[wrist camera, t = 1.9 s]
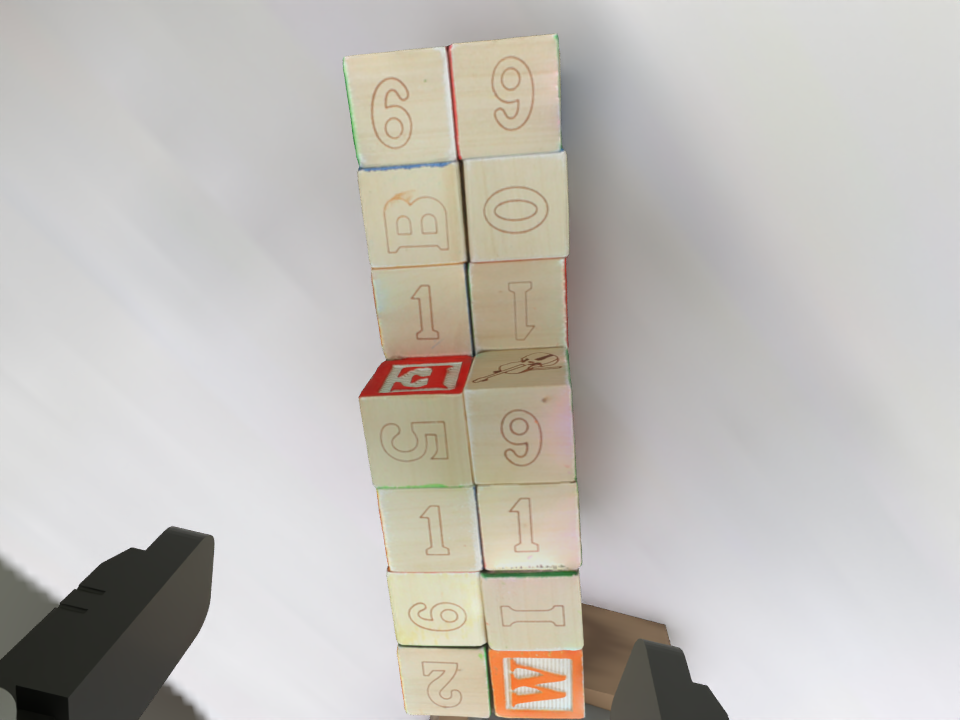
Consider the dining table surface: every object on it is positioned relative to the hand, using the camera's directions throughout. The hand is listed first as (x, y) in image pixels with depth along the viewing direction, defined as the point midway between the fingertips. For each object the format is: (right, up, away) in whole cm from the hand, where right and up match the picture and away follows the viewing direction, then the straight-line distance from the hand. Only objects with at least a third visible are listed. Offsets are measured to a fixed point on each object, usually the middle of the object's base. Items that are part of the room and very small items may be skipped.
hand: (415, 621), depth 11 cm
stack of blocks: (+2, +7, +18) cm, 19 cm away
